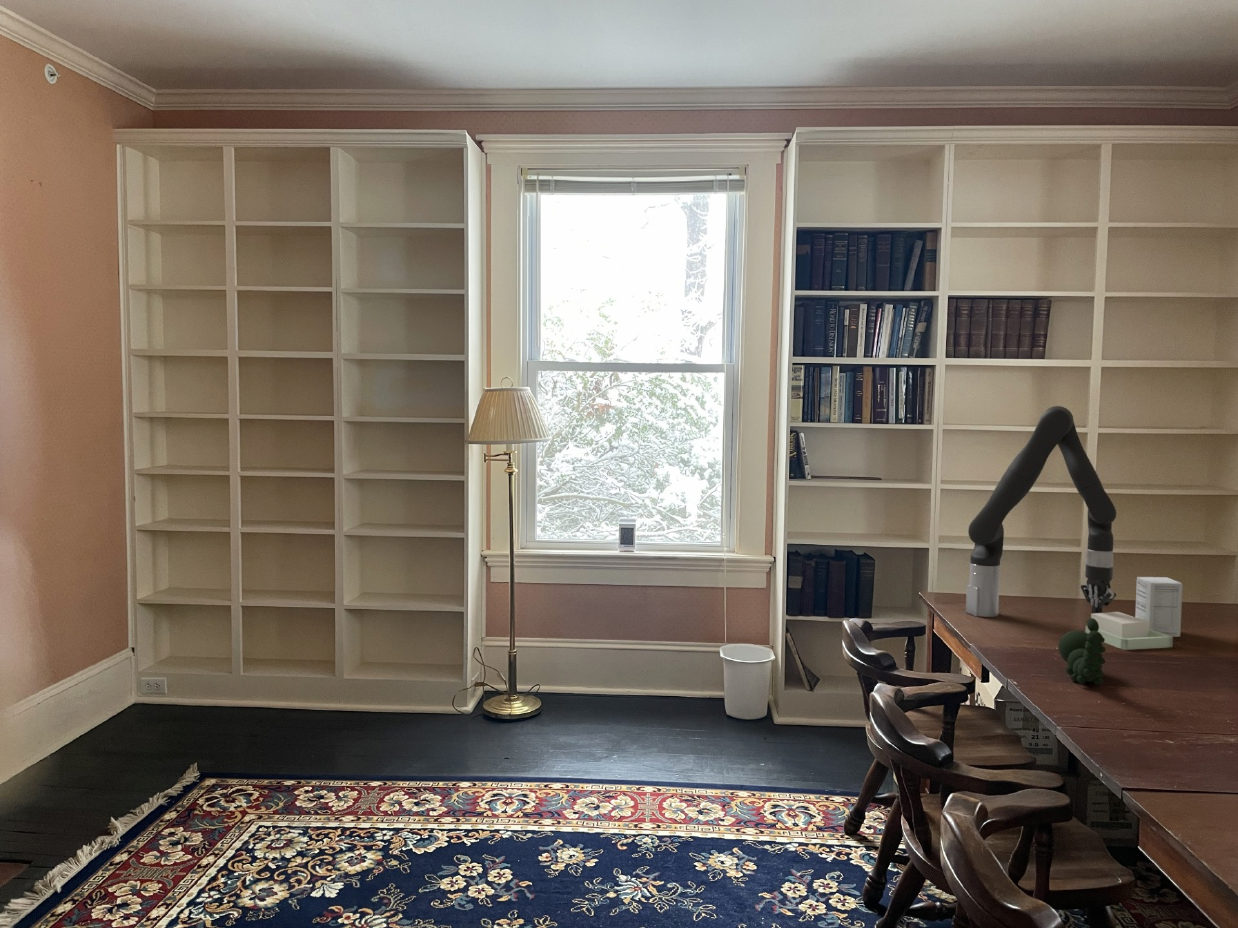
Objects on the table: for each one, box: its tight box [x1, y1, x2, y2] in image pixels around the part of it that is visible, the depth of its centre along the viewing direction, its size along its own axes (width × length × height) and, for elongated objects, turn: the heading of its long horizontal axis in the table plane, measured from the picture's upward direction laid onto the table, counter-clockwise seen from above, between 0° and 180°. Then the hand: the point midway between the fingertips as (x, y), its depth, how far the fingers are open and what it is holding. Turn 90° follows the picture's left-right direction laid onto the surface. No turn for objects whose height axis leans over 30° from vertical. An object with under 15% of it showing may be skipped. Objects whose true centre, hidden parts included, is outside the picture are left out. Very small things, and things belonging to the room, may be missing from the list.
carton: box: [1090, 611, 1150, 638], centre depth 262 cm, size 10×12×6 cm
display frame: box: [1084, 625, 1174, 651], centre depth 257 cm, size 16×16×3 cm
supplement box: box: [1134, 576, 1183, 638], centre depth 265 cm, size 10×9×17 cm
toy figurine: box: [1057, 617, 1107, 686], centre depth 222 cm, size 9×19×25 cm
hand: (1096, 617), depth 270 cm, fingers closed
